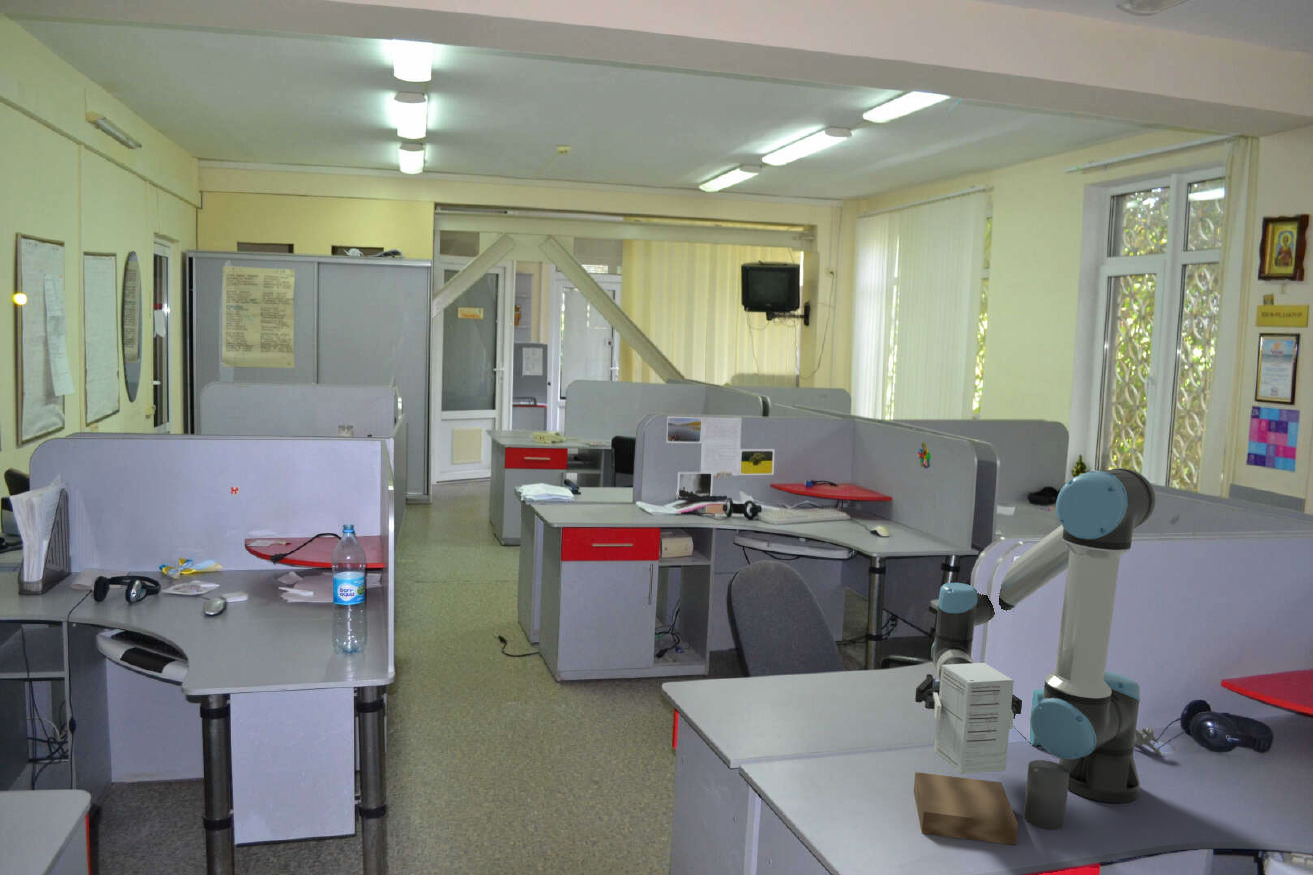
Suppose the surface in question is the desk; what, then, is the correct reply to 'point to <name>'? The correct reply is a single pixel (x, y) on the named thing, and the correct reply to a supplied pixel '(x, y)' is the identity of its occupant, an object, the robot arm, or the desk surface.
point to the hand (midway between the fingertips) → (974, 717)
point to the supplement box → (974, 717)
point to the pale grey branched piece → (1146, 739)
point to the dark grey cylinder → (1046, 794)
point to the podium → (964, 808)
